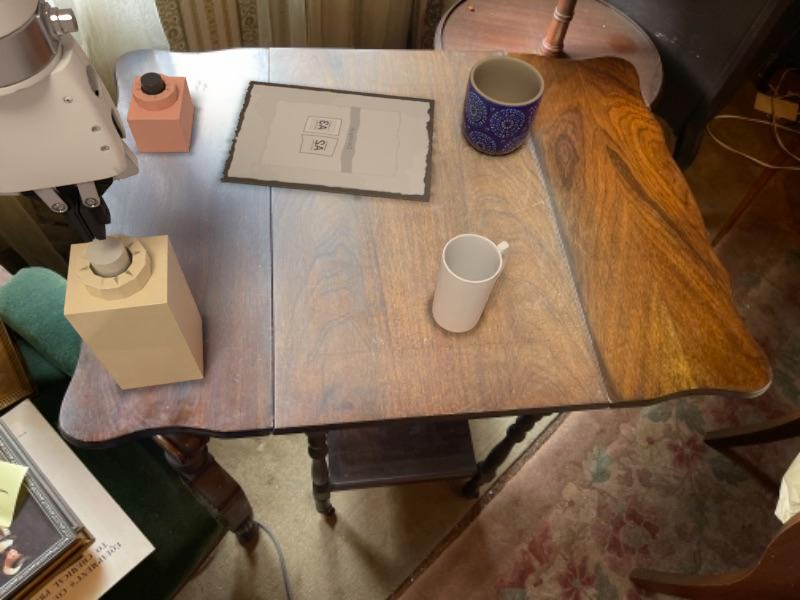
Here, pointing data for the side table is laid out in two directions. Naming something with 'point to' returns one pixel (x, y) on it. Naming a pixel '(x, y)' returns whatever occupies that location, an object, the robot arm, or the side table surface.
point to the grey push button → (108, 256)
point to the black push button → (152, 83)
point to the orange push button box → (162, 116)
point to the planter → (501, 103)
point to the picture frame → (333, 141)
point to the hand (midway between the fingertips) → (95, 227)
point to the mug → (466, 280)
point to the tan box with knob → (137, 314)
